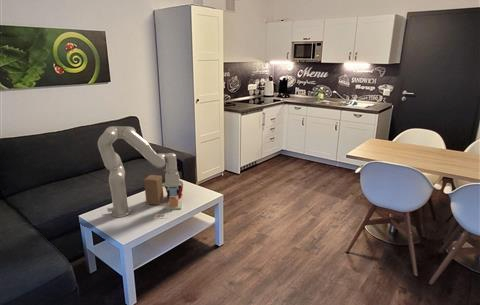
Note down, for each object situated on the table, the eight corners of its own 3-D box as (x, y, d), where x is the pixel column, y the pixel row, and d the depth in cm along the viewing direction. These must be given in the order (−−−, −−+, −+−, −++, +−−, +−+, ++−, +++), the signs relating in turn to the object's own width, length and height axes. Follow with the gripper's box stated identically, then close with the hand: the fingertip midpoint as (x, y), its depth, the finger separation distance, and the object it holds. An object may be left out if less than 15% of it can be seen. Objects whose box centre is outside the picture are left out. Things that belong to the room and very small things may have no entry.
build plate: (166, 210, 224) (166, 208, 224) (168, 203, 233) (168, 202, 233) (180, 209, 225) (180, 207, 225) (181, 202, 234) (181, 201, 234)
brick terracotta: (169, 207, 226) (169, 199, 224) (170, 203, 231) (169, 195, 229) (178, 206, 226) (177, 199, 224) (178, 202, 232) (178, 195, 230)
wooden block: (158, 205, 231) (156, 180, 225) (146, 204, 233) (143, 179, 227) (164, 199, 240) (162, 175, 234) (152, 198, 242) (149, 174, 236)
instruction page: (154, 218, 212) (154, 218, 212) (155, 214, 218) (155, 214, 217) (166, 218, 213) (166, 217, 213) (167, 213, 218) (167, 213, 218)
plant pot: (163, 199, 240) (162, 185, 237) (171, 192, 252) (170, 178, 249) (178, 201, 236) (177, 187, 233) (186, 194, 248) (185, 180, 245)
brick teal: (169, 196, 224) (169, 188, 222) (170, 193, 229) (169, 185, 227) (176, 196, 224) (176, 188, 222) (177, 193, 229) (176, 185, 227)
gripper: (158, 173, 217) (160, 197, 222) (183, 172, 218) (185, 195, 224) (160, 169, 224) (162, 192, 229) (184, 168, 225) (185, 191, 231)
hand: (173, 194), depth 226 cm, fingers closed on brick teal, 5 cm apart
